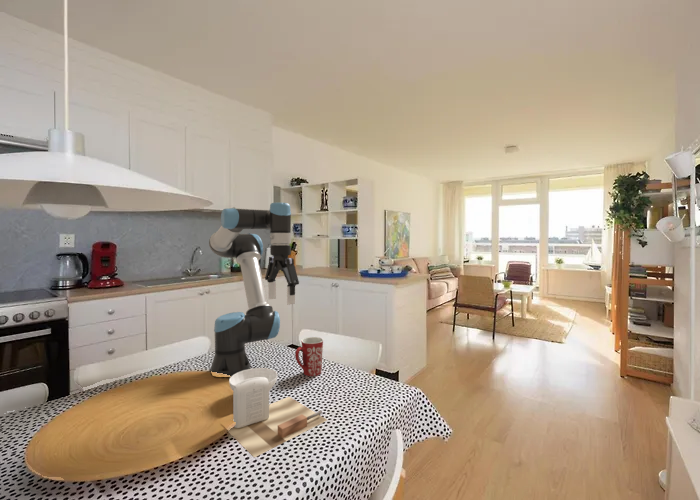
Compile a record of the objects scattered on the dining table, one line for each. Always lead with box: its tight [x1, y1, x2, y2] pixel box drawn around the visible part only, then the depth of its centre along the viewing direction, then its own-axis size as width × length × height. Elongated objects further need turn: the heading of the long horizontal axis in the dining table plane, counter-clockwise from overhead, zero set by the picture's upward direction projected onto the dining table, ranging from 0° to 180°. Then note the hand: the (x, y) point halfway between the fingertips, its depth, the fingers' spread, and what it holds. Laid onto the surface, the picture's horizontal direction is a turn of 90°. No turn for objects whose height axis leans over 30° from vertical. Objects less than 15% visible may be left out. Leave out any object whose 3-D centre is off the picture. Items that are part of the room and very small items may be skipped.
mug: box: [294, 336, 324, 377], centre depth 130 cm, size 13×9×14 cm
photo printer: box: [232, 377, 270, 428], centre depth 93 cm, size 10×4×12 cm, turn 125°
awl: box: [278, 410, 323, 438], centre depth 91 cm, size 14×2×2 cm, turn 134°
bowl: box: [228, 367, 278, 392], centre depth 111 cm, size 16×16×7 cm
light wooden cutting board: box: [227, 396, 328, 458], centre depth 93 cm, size 20×23×2 cm
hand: (281, 301), depth 120 cm, fingers open, 13 cm apart
